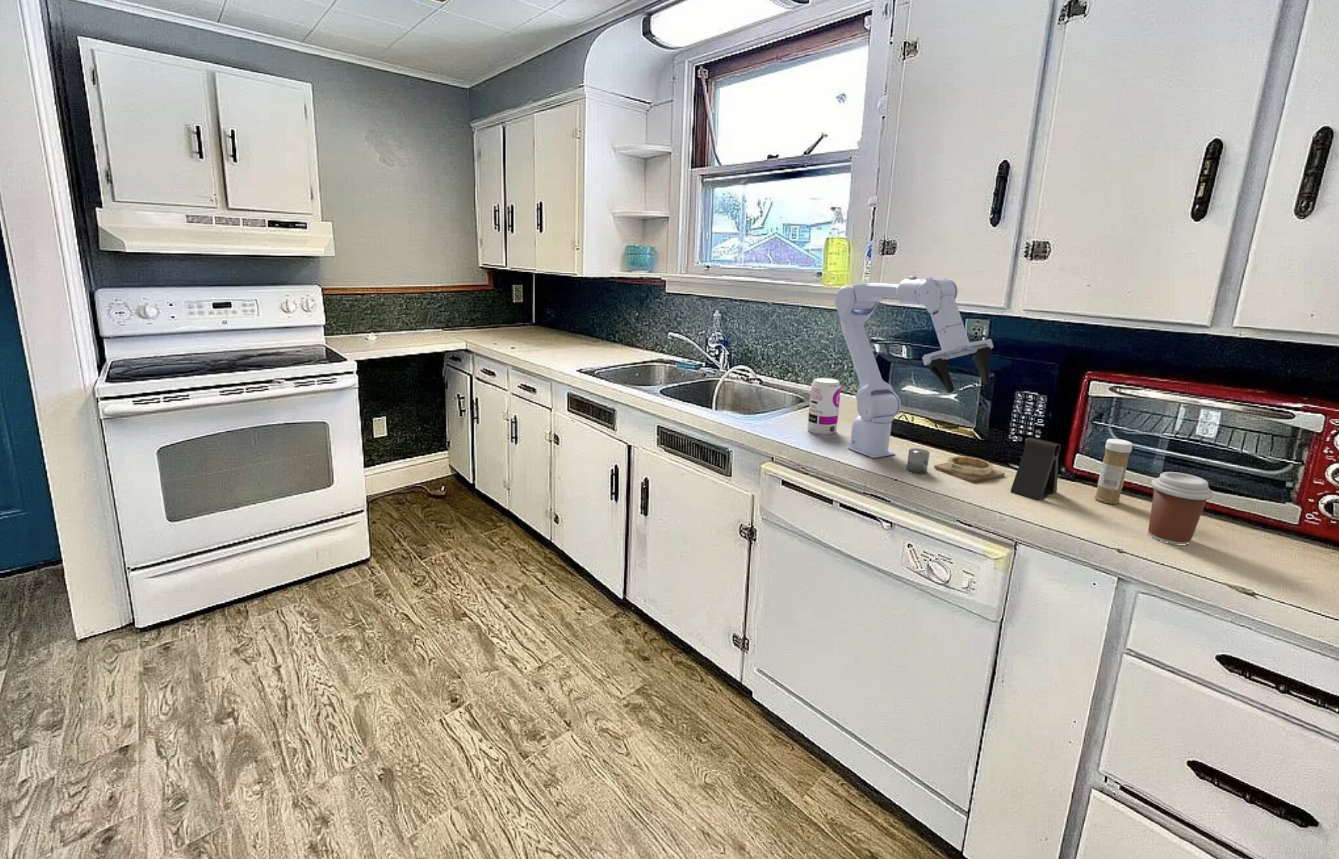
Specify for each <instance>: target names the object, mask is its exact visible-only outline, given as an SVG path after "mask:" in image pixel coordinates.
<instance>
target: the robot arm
mask: <svg viewBox="0 0 1339 859" xmlns="http://www.w3.org/2000/svg"><path fill="white" fill-rule="evenodd" d="M958 292H959V291H958V286H957V284H956V282H954V281H953V280H951V279H948V278H941V279H938V278H937V279H935V278H934V276H933V277H932V276H928V277H925V278H918V276H913V275H912V276H909V275H908V278H905V279H902V280H901V281H900V282H899V283H886V282H885V283H883V282H865V283H856V284H851V285H843V286H841V287H840V288H839V289H838V292H837V294H836V296H835V299H834V305H835V307H836V311H837V313H838V316H839V321H840V323H839V324H840V328H841V331H842V334H843V337H844V341H845V343H846V346H847V349H848V351H849V355H850V357H851V358H850V359H851V360H852V364H853V367H854V369H855V372H856V375H857V378H858V381H859V385H860V388H859V389H858V390H857V391H856V394H855V398H856V408H857V413H858V416H857V417H856V418H854V420H853V423H852V425H851V433H850V434H851V435H850V436H851V437H850V443H849V446H847V449H850V450H852V451H854V452H857V453H859V454H862V455H865V456H867V457H870V458H871V459H876V458H882V457H887V456H894V455H896V452H895V451H893V450H890V449H889V446H890V440H891V433H892V422H893V421H894V420H895V416H897V415H898V414H899V412H901V407H902V403H901V399H900V397H899V396H898V395H897V394H896V393H895V390H894V388H893V386H892V385H891V384H889V383H888V382H886V381H884V380H883V378H882V374H881V372H880V370H879V366H878V363H877V360H876V357H875V355H874V352H873V348H872V346H871V343H870V340H869V338H868V334H867V332H866V329H865V327H864V325H865V323H866V322H867V321H868V320H869V319H870V317H871V316H872V314H874V311H875V310H876V308H877V306H878V304H879V302H882V300H883V298H897V299H898V301H899V302H900V303H902V304H907V305H908V304H909V305H910V304H911V305H923V306H924V307H925V308H926V310H927V313H929V315H930V318H931V321H932V325H933V327H934V330H935V333H936V337H937V340H938V343H939V345H940V349H941V350H937V351H934V352H930V353H927V354H926V353H925V354H924V355H923V356H922V358H921V359H922V362H923V365H924V366H928V368H929V370H930V372H931V373H932V374H934V376H936V377H937V379H938V380H939V381H940V382H941V383H942V385H943V386H944V388H945V389H946V391H947V393H948V394H950V393H953V392H954V391H955V387H954V384H953V381H952V378H951V376H950V372H949V366H948V362H947V361H948V360H951V359H955V358H958V357H962V356H963V357H964V356H966V355H972V354H974V356H973V357H972V360H973V362H974V364H975V367H976V368H977V370H978V372H979V373H978V374H979V376H980V380H981V382H982V384H983V386H984V385H988V384H989V383H991V378H990V361H991V354H992V349H993V348H994V344H993V341H992V339H991V338H988V339H983V340H977V341H970V340H969V338H968V337H969V336H968V334H967V331H966V328H965V325H964V322H963V319H962V316H961V314H960V311H959V310H960V309H959V308H958V305H957V302H956V301H957V300H956V299H957V297H958Z"/></svg>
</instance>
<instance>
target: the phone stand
mask: <svg viewBox="0 0 1339 859" xmlns="http://www.w3.org/2000/svg"><path fill="white" fill-rule="evenodd" d="M1060 451H1061V444H1060V443H1058V442H1053V441H1049V440H1045V439H1041V438H1037V437H1032V436H1030V437H1027V438H1026V440H1025V443H1024V449H1023V453H1022V456H1021V459H1020V462H1019V465H1018V467H1017V471H1016V473H1015V476H1014V480H1013V482H1012V484H1011V488H1010V491H1009V492H1010V493H1012V494H1013V493H1014V494H1015V495H1016V494H1017V495H1019V496H1022V497H1026V498H1029V499H1033V500H1036V501H1042V500H1043V499H1045V498H1048V497H1050V496H1052V495H1053V494H1056V493H1057V491H1058V477H1059V476H1058V475H1059V474H1058V471H1059V470H1058V469H1059V456H1060V455H1059V454H1060ZM1049 495H1050V496H1049Z"/></svg>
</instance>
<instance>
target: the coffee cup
mask: <svg viewBox="0 0 1339 859" xmlns="http://www.w3.org/2000/svg"><path fill="white" fill-rule="evenodd" d="M1150 486H1151V488H1153V496H1152V500H1151V501H1152V502H1151V508H1150V515H1149V516H1150V517H1149V523H1148V530H1147V536H1149V535H1150V536H1152V537H1153V538H1156V539H1157V540H1161V541H1163V542H1168V543H1172V544H1187V543H1189V542H1190V543H1191V541H1192V539H1193V536H1194V533H1195V531H1196V528H1197V525H1198V523H1199V521H1200V518H1201V516H1202V514H1203V511H1204V508H1205V505H1206V503H1207V501H1208V500H1211V499H1213V497H1214V492H1213V490H1212V489H1210V487H1209V482H1208V481H1207V480H1206V479H1204V478H1202V477H1199V476H1197V475H1193V474H1189V473H1183V472H1177V471H1176V472H1175V471H1164V472H1162V473H1160V474H1159V477H1156V478H1154V479H1152V480H1151V482H1150ZM1150 536H1149V537H1150ZM1153 538H1152V539H1153ZM1157 540H1156V541H1157ZM1163 542H1162V543H1163ZM1172 544H1171V545H1172Z"/></svg>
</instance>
